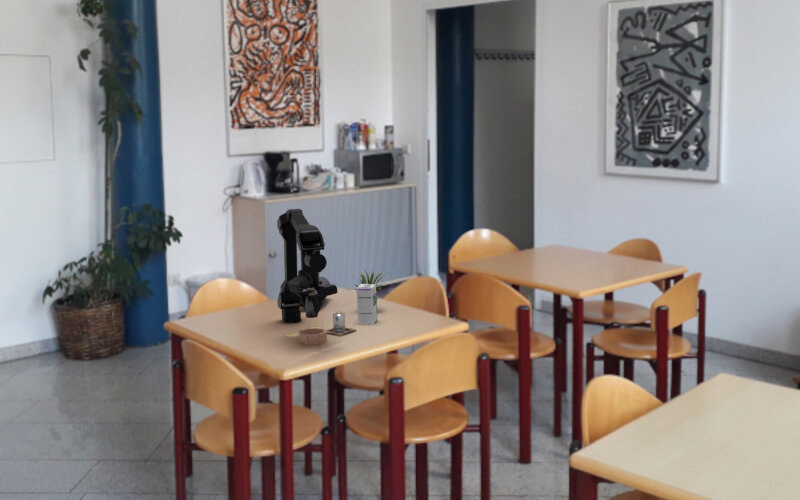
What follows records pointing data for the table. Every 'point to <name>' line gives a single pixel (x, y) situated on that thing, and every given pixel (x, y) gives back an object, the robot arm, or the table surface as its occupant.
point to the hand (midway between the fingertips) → (311, 313)
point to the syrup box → (367, 304)
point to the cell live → (339, 322)
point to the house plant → (371, 280)
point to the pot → (312, 336)
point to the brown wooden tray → (341, 333)
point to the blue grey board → (298, 333)
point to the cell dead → (310, 306)
